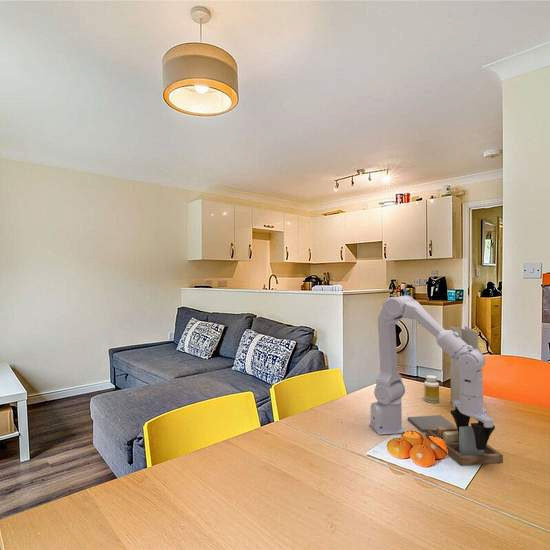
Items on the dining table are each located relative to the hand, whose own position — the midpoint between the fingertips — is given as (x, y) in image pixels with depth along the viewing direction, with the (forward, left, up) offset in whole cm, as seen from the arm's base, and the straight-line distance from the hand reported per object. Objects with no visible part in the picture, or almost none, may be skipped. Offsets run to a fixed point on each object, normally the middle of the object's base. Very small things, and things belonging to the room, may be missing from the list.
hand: (471, 442), depth 101 cm
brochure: (+19, +32, -4) cm, 37 cm away
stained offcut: (0, +10, -4) cm, 10 cm away
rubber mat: (0, +21, -4) cm, 21 cm away
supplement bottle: (+12, +42, -4) cm, 44 cm away
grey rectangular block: (0, 0, -4) cm, 4 cm away
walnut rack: (0, +5, -4) cm, 6 cm away
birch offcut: (0, +6, -4) cm, 7 cm away
